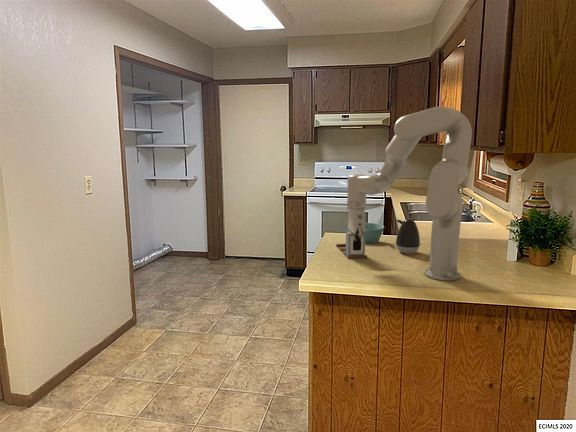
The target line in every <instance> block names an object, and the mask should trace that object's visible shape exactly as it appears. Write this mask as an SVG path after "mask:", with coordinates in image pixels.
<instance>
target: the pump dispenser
mask: <svg viewBox="0 0 576 432" xmlns="http://www.w3.org/2000/svg"><path fill="white" fill-rule="evenodd" d="M396 222H397V223H399V224H400V226H399V229H398V232H397V234H396V241H395V244H396V247H397V250H398V251H399V253H402V254H404V255H405V254H406V255H412V254H415V253H417V252H418V250H419V248H420V246H421V239H420V232H419V227H418V225H417V223H416V222H415V220H414V219H412V218H406V219H404V220H401V219H397V220H396Z"/></svg>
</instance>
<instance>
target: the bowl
mask: <svg viewBox="0 0 576 432" xmlns="http://www.w3.org/2000/svg"><path fill="white" fill-rule="evenodd" d="M384 229H385V226H384V225H382V224H380V223H373V222H365V244H377V243H379V241H380V238H381V236H382V235H383V232H384Z"/></svg>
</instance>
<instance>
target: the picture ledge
mask: <svg viewBox="0 0 576 432" xmlns="http://www.w3.org/2000/svg"><path fill="white" fill-rule="evenodd" d="M335 247H336V248H337V249H338V250H339V251H340V252H341V254H342V255H344V256H345V257H346V258H347V259H348V260H352V259H353V260H357V259H367V258H368V255H367V254H365V255H354V256H348V257H347V256H346V243H336V244H335Z"/></svg>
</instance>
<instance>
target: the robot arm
mask: <svg viewBox="0 0 576 432" xmlns="http://www.w3.org/2000/svg"><path fill="white" fill-rule="evenodd" d="M393 132H394V133H393V134H394V136H393V138H392V139H391V141H389V143H388V145H387V146H386V148H385V150H384V151H385V156H386V158H385V162H384V163H383V165H382V167H381V169H380V170H379V171H378V173H377V174H373V175H364V174H350V175H348V177H347V192H346V193H347V196H346V197H347V198H346V199H347V201H346V202H347V203H346V209H347V210H348V217H347V229H348V231H349V232H353V233H354V241H353V250H361V237H362V233H363V234H364V233H365V223H366V212H365V210H366V207H367V195H368V196H369V195H370V196H375V195H377V194H382V193H385V192H387V191H388V190H389V189H390V188H391V186H392V185H393V184H394V183H395V181H396V180H397V179H398V176H399V175H400V174H401V172H402V169H403V167H404V164H405V163H406V160H407V158H408V157H409V155H411V153H412V152H413V150H414V149H415V147H416V146H417V144H418V143H419V141H420V140H421V139H422V138H423V137H424V136H429V135H430V136H431V135H435V134H439V133H442V134H443V133H444V134H445V138H446V139H445V141H444V145H443V150H442V157H441V161H439V162H437V163H436V164H435V165H434V166H433V167H432V169H431V171H430V173H429V174H430V175H429V179H428V185H427V192H426V198H425V210H426V212H427V214H428V215H429V217H431V218H432V224H431V235H430V249H429V252H430V253H429V265H428V266H429V268H426V269H424V275H425V276H427V277H429V278H431V279H434V280H440V281H457V280H460V279H461V277H462V273H461V272H460V271H458V259H459V248H460V247H459V246H460V245H459V244H460V234H461V223H462V216H463V209H464V199H463V197H462V196H461V194H460V193H459V192H458V189H459V185H461V184H462V183H463V182H464V181H465V179H466V176H467V169H468V164H469V163H468V162H469V158H470V151H471V144H472V136H473V129H472V125H471V123H470V120H469V119H468V117H466V115H465V114H463V113H462V112H460V110H457V109H455V108H452V107H448V106H433V107H429V108H427V109H424V110H420V111H417V112H413V113H410V114H409V113H408V114H407V115H406V114H405V115H403V116H401V117H400V118H399V119H397V120H396V122H395V124H394V127H393ZM356 232H358V233H356ZM356 235H357V236H356Z"/></svg>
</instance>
